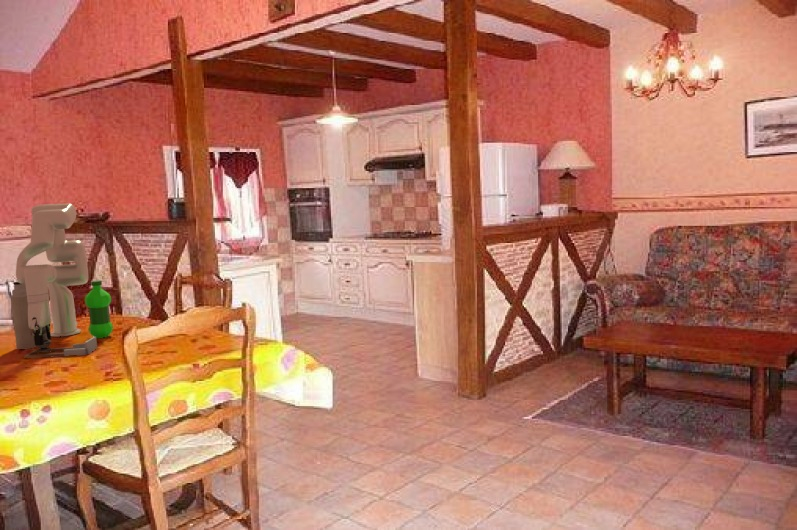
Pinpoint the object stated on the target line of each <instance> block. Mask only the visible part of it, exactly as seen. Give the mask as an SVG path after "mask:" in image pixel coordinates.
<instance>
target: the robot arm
mask: <svg viewBox="0 0 797 530" xmlns="http://www.w3.org/2000/svg"><path fill="white" fill-rule="evenodd" d="M31 216H32V218H31V230H30V232H31V234H30V242H29V243H28V244H27V245H26V246H25V247H23V248H22V250H21V252H20V253H19V255H18V256H17V259H16V266H15V277H16V282H19V283H20V284H26V293H27V302H28V325H29V328H30V329H31V330H32V332H33V336H34V342H35V345H36V346H37V345H44V340H43V335H42V327H46V331H47V332H46V334H47V338H48V339H49V340H51V341H52V338H53V337H58V338H59V337H60V336H61V337H68V336H74V335H77V334H80V333H82V330H81V328H78V327H77V326H78V324H79V323H78V321H77V318H76V310H75V309H76V308H75V301H74V294H73V292H72V291H71V290H70V289H69V288H68V287H69V286H81V285H85V284H87V283H88V281H89V268H88V259H87V252H86V247H85V244H84V243H83V241H81V240H76V239H75V240H67V238H66V232H65V231H66V229H67V230H68V229H70V228H71V227H72V225H74V222H75V221H76V219H77V218H76V217H77V209H76V207H75V205H73V204H72V203H44V204H37V205H34V206H33V207H32V208H31ZM42 253H45V255H46V258H47V260H48V261H49V262H50V263H69V262H71V263H74V264H59V265H57V264H55V265H52V264H47V263H45V264H31V265H28V263H29V261H30V260H31V259H32V258H35V257H36V256H38V255H40V254H42ZM49 302H50V303H49ZM51 323H52V327H53V328H52V330H53V331H51ZM37 326H39V327H37ZM38 329H39V331H38Z"/></svg>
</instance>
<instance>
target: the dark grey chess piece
mask: <svg viewBox="0 0 797 530" xmlns="http://www.w3.org/2000/svg"><path fill="white" fill-rule="evenodd" d="M36 327H39V326H36ZM37 330H38V331H39V329H37ZM46 332H47V331H46V327H42V335H43V340H44V345H37V347H36V348H38V349H36V350H37V352H45V351H49V350H51V349H52V348H50V346H51V344H52V339H51V340H49V339H48V338H47V334H46Z"/></svg>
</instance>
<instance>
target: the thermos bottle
mask: <svg viewBox="0 0 797 530" xmlns="http://www.w3.org/2000/svg"><path fill="white" fill-rule="evenodd" d="M11 293H12V295H10V302H11V311H12V319H13V326H14V327H13V328H14V337H15V344H16V346H15V347H16V350H18V349H25V350H30V349H29V348H32V349H35V348H34V347H36V348H38V347H37V346H36V345H35V342H34V336H33V332H32V330H31V329H30V328H29V325H28V302H27V293H26V284H20V283H19V282H18V281H14V282H13V289H12V290H11Z"/></svg>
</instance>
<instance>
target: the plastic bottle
mask: <svg viewBox="0 0 797 530" xmlns="http://www.w3.org/2000/svg"><path fill="white" fill-rule="evenodd" d="M102 285H103V282H102V280H100V279H97V280H91V281H90V286H91V287H92V289H91V290H90V291H89V292H88V293H87V294H86V295H85V297H84V304H85V306H86V307H87V308H88V313H89V314H88V315H89V322H90V324H89V326H88V332H89V334H90V336H92V337H96V339H104V338H103V337H105V338H108V337H109V336H110V335H111V334H112V332H113V330H114V325H113V323H112V322H111V317H110V316H111V314H110V308H109V307H110V304H111V303H112V296H111V294H110V292H107V291H106V290H104V289H103V288H102ZM107 336H108V337H107Z"/></svg>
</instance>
